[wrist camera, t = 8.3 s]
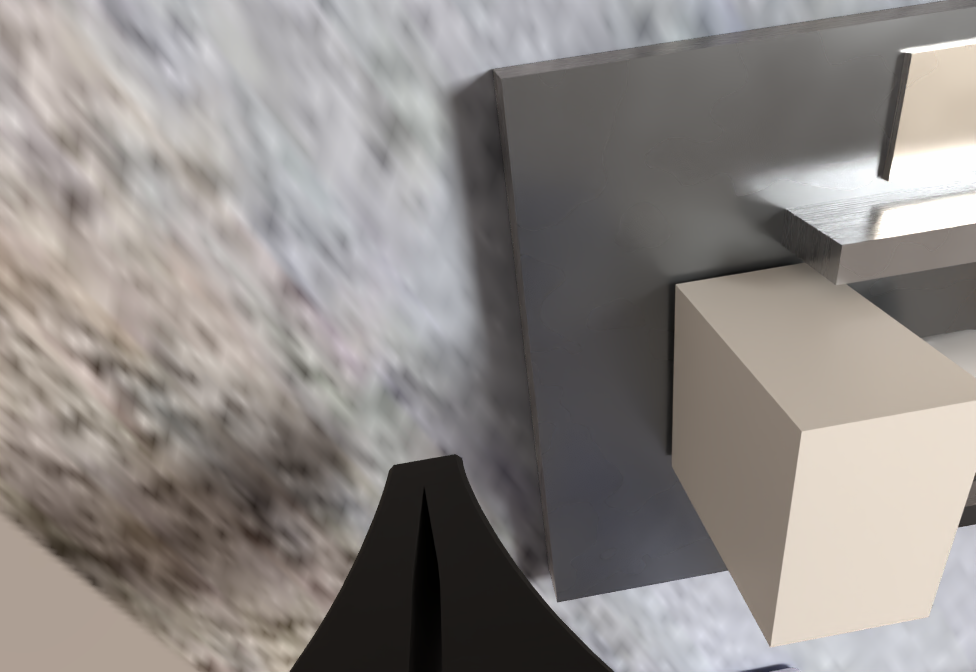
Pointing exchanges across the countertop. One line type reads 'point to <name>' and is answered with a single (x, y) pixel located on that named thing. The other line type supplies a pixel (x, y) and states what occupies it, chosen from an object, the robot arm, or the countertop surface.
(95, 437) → the countertop surface
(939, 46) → the base
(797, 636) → the cream block with peg
